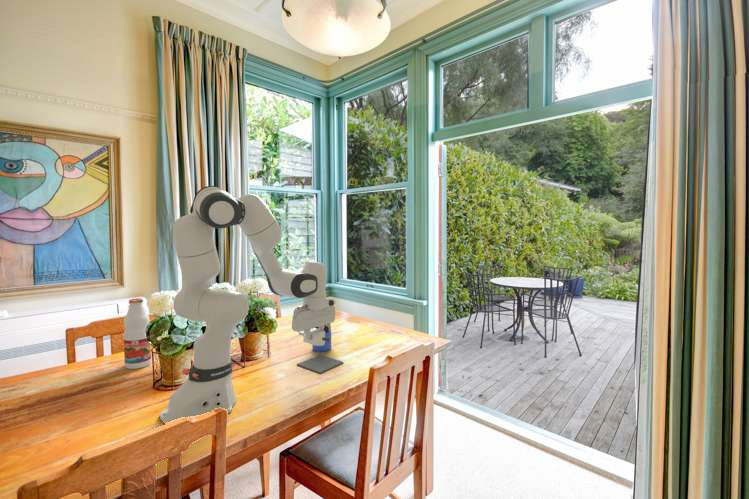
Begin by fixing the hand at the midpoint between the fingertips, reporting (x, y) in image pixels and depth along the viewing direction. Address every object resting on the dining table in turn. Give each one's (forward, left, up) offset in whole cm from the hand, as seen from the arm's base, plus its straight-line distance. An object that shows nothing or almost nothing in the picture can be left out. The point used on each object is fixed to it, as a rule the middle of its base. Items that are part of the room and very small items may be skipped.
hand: (314, 338), depth 140 cm
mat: (+11, +8, -16) cm, 21 cm away
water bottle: (+25, +21, -16) cm, 37 cm away
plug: (0, 0, -2) cm, 2 cm away
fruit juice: (-37, +67, -16) cm, 78 cm away
